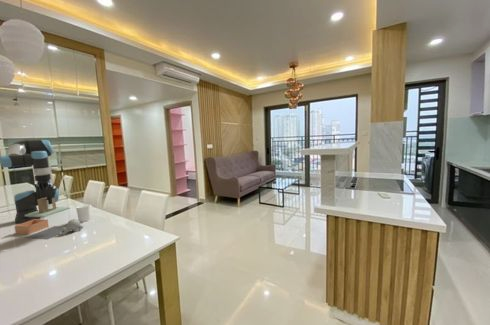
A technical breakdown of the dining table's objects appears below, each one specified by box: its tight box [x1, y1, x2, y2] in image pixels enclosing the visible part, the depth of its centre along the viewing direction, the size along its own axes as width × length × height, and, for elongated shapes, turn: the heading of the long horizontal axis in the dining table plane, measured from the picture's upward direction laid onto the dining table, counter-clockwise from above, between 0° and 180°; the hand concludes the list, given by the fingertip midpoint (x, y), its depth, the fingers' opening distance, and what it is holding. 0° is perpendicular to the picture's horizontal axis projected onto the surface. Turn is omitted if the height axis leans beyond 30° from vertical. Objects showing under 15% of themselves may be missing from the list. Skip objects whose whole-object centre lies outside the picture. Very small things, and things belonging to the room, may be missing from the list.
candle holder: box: [75, 203, 93, 223], centre depth 165 cm, size 10×10×12 cm
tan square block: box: [14, 218, 49, 235], centre depth 151 cm, size 12×12×6 cm
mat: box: [24, 225, 66, 240], centre depth 145 cm, size 19×19×1 cm
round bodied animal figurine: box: [59, 218, 84, 236], centre depth 144 cm, size 7×12×8 cm, turn 146°
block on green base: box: [25, 196, 70, 218], centre depth 143 cm, size 16×16×10 cm
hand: (47, 208), depth 144 cm, fingers closed on block on green base, 3 cm apart
